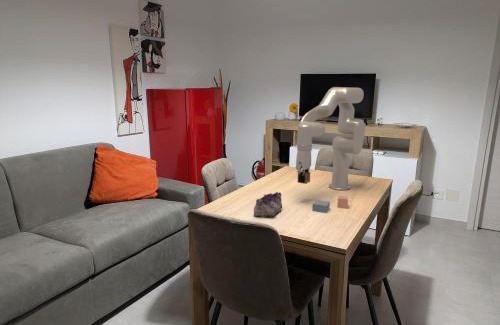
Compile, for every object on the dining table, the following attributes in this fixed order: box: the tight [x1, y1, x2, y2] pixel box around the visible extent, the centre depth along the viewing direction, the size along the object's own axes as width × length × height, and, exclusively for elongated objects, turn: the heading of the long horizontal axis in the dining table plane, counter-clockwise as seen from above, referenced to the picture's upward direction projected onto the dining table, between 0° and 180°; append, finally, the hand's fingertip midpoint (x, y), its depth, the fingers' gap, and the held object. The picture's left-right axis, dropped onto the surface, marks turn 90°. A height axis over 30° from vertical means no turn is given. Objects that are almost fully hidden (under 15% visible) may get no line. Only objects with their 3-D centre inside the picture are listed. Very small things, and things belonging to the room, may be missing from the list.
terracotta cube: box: [336, 195, 349, 210], centre depth 184 cm, size 5×5×5 cm
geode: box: [253, 191, 283, 218], centre depth 175 cm, size 20×12×10 cm, turn 154°
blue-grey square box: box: [311, 199, 331, 214], centre depth 179 cm, size 7×7×4 cm
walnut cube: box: [297, 171, 311, 185], centre depth 188 cm, size 5×5×5 cm
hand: (303, 180), depth 189 cm, fingers closed on walnut cube, 5 cm apart
